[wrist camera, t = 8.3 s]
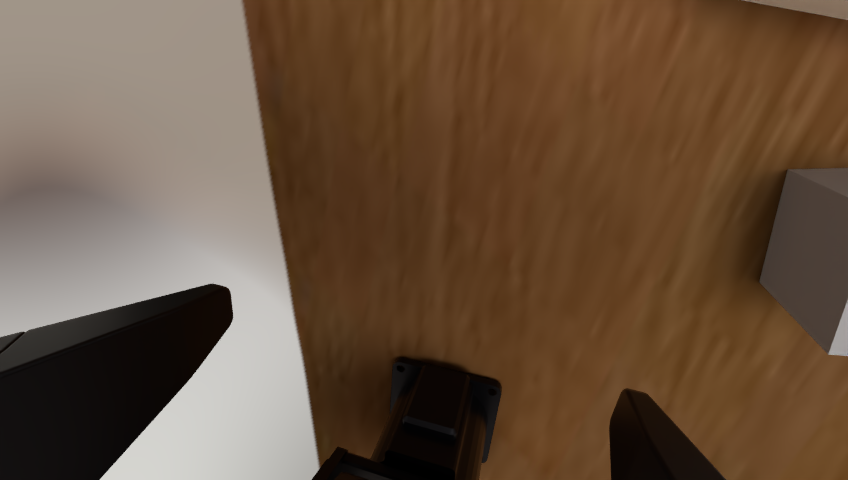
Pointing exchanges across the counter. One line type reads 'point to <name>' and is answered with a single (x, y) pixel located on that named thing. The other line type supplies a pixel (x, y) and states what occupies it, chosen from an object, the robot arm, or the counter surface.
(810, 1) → the cream base block
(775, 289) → the light gray block
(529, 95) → the counter surface
